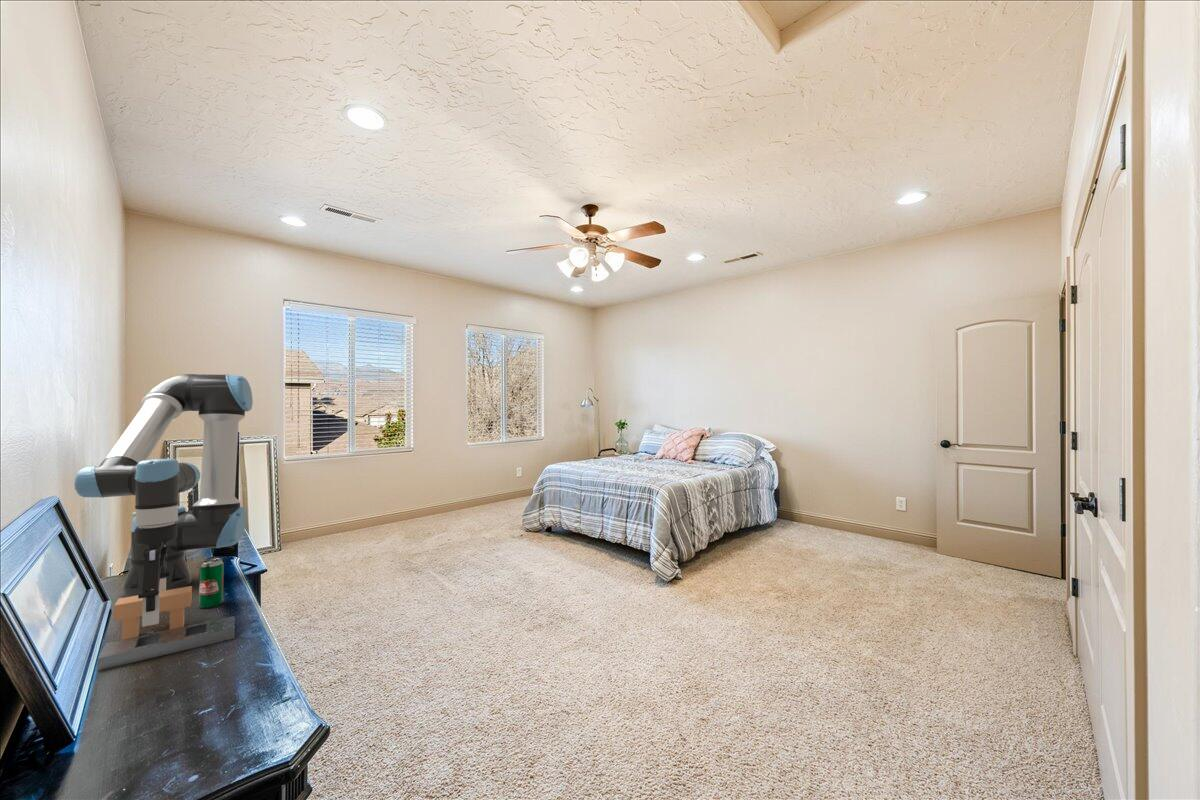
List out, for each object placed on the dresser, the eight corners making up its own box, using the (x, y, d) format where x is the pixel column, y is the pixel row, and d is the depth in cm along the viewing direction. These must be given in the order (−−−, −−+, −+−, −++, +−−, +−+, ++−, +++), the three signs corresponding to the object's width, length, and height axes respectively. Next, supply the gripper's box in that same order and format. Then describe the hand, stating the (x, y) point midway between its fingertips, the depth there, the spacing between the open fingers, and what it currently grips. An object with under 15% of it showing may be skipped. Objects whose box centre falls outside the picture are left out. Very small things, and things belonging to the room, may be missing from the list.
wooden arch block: (117, 637, 110) (118, 598, 110) (191, 622, 118) (191, 585, 118) (113, 646, 106) (114, 605, 106) (189, 629, 114) (190, 591, 114)
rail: (105, 654, 102) (106, 643, 102) (234, 626, 115) (234, 615, 116) (97, 670, 96) (97, 658, 96) (234, 638, 109) (234, 627, 109)
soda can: (195, 610, 125) (195, 564, 125) (204, 602, 130) (204, 558, 130) (218, 607, 127) (218, 562, 127) (226, 600, 131) (226, 557, 132)
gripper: (142, 517, 120) (140, 602, 119) (124, 537, 100) (122, 639, 100) (181, 513, 125) (180, 595, 124) (172, 532, 105) (170, 628, 104)
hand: (154, 614), depth 112 cm, fingers open, 13 cm apart
